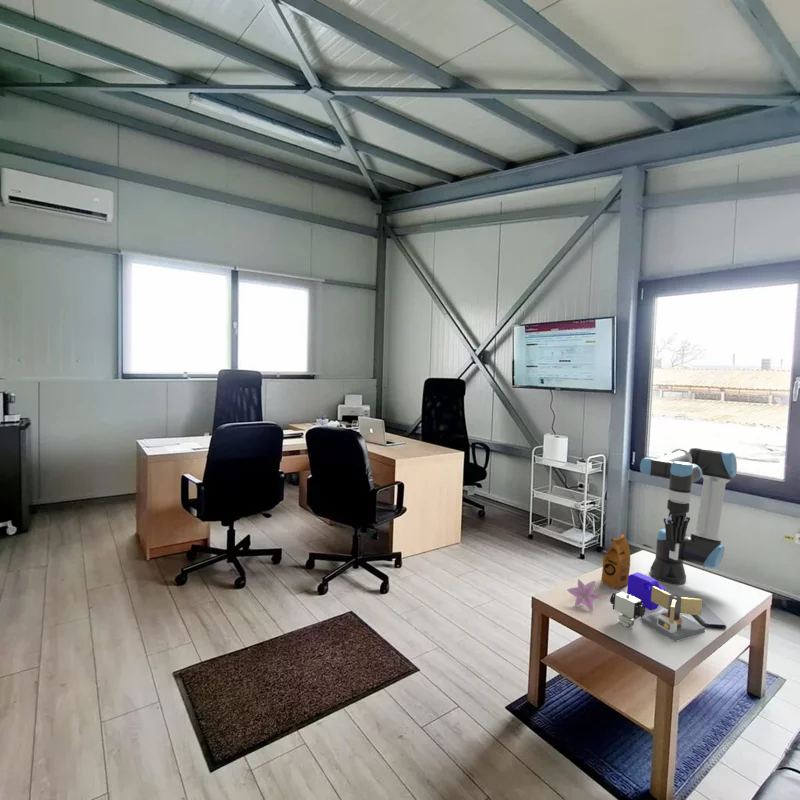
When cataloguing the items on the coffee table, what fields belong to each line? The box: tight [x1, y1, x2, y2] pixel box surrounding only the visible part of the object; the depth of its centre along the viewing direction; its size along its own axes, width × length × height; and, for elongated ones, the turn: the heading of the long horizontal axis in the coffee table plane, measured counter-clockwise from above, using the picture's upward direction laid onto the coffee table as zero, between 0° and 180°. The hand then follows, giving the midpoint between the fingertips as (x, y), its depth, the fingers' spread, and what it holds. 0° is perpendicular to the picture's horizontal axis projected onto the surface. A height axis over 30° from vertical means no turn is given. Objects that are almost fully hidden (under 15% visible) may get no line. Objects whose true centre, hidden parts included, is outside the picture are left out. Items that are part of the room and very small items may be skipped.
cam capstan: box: [651, 586, 703, 627], centre depth 184 cm, size 17×15×10 cm
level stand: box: [641, 609, 706, 642], centre depth 183 cm, size 18×14×6 cm
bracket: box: [626, 572, 666, 611], centre depth 204 cm, size 18×11×12 cm, turn 122°
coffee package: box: [600, 534, 631, 590], centre depth 218 cm, size 10×12×22 cm
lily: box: [567, 578, 602, 612], centre depth 198 cm, size 12×12×10 cm
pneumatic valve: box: [609, 590, 646, 628], centre depth 184 cm, size 6×12×12 cm, turn 36°
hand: (673, 558), depth 190 cm, fingers closed
